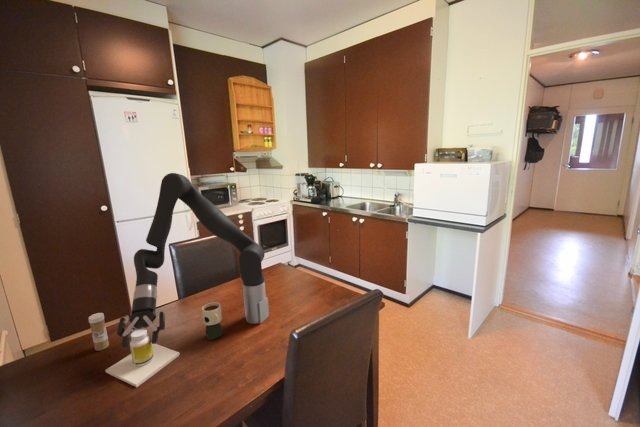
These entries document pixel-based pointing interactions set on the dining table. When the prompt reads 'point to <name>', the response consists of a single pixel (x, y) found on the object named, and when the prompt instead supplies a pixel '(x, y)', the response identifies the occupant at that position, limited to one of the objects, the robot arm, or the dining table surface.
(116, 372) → the ceramic tile
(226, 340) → the dining table surface
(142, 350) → the pill bottle
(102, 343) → the sprinkles bottle
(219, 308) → the character mug
